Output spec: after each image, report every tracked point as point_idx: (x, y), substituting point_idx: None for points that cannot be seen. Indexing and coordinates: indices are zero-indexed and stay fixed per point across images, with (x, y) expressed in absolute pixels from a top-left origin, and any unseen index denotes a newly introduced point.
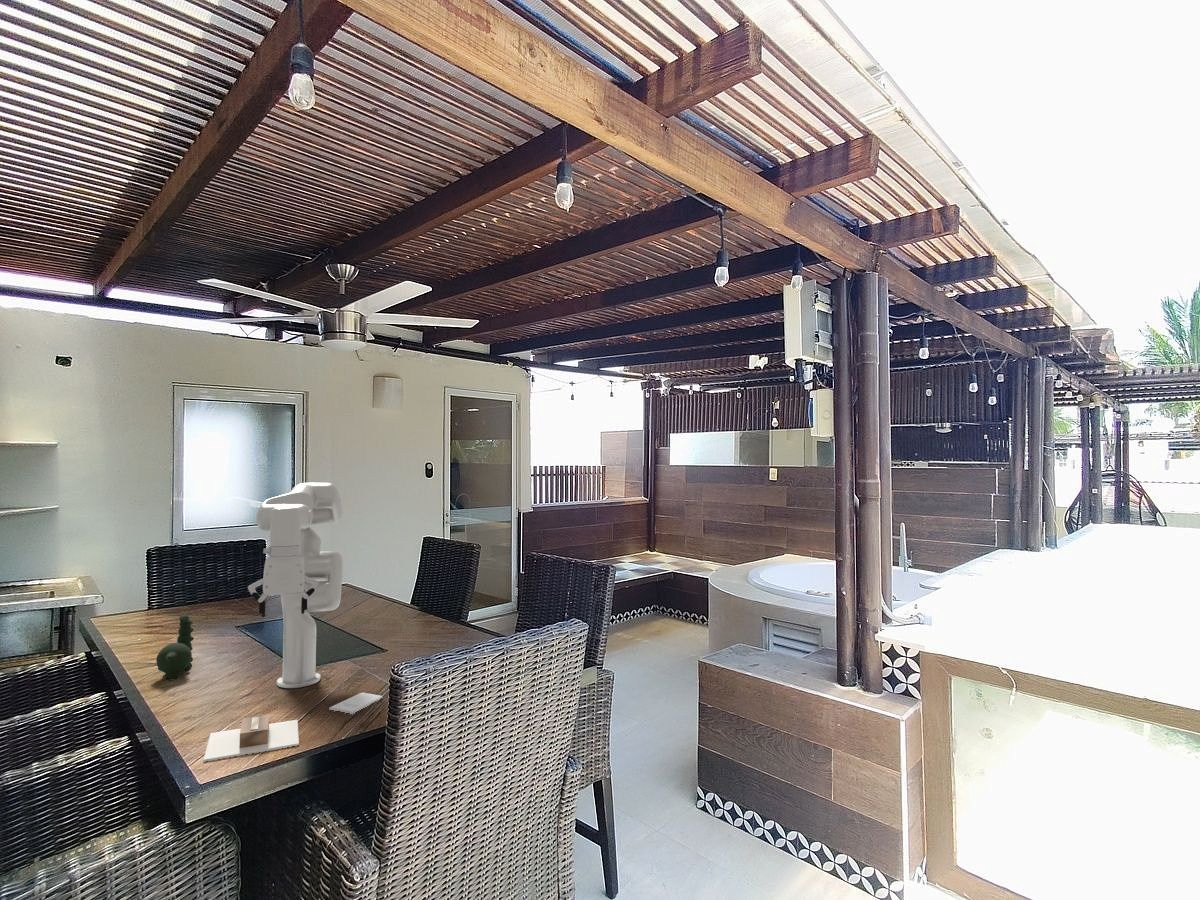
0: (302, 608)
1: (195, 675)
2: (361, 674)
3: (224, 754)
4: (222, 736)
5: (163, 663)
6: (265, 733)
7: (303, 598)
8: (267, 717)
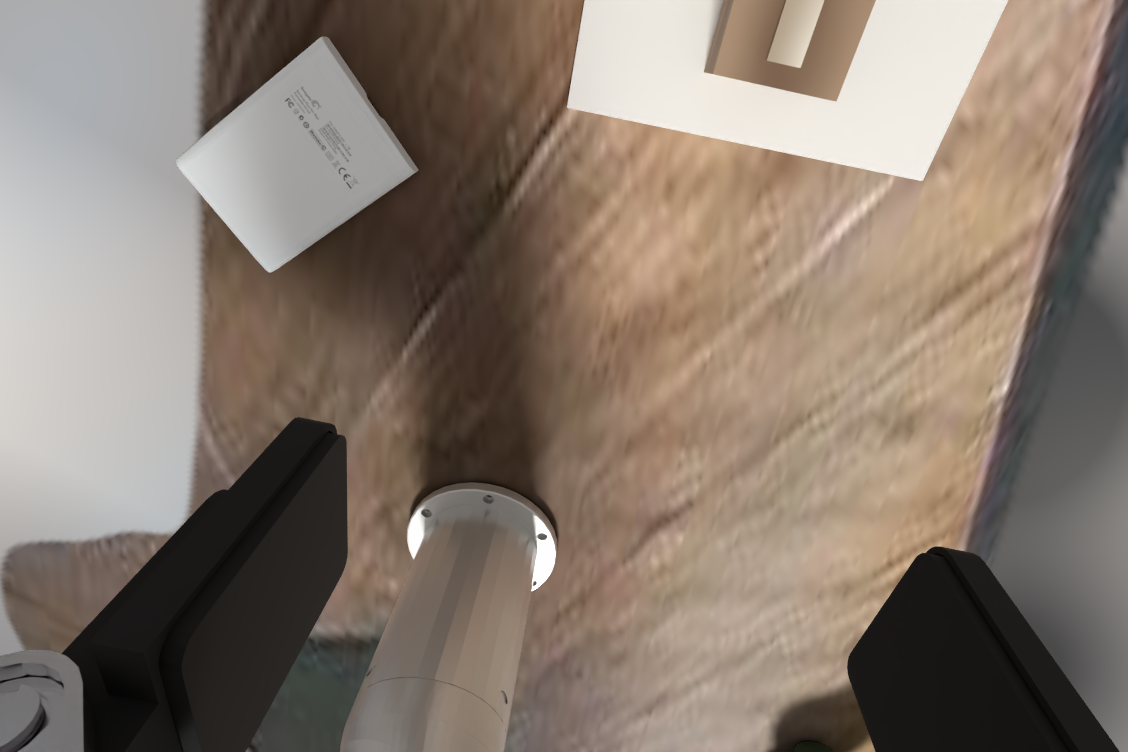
0: (282, 478)
1: (748, 740)
2: None
3: None
4: (901, 100)
5: None
6: None
7: (127, 711)
8: (732, 31)
